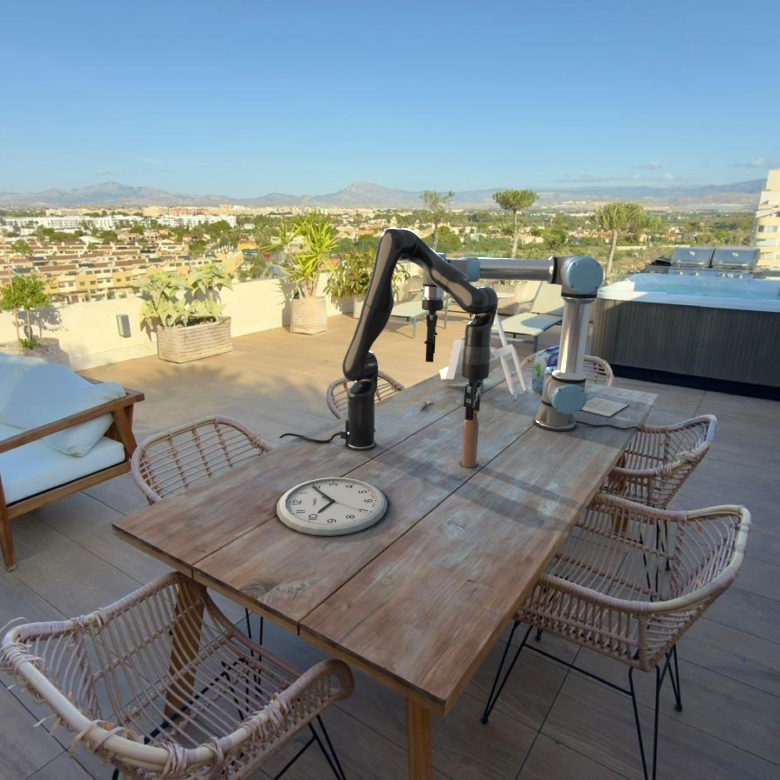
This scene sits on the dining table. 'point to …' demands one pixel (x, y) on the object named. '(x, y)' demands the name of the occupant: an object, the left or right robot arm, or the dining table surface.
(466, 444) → the bottle
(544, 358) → the lunch box
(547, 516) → the dining table surface
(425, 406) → the fork
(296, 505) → the wall clock
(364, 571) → the dining table surface
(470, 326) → the left robot arm
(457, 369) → the white plastic object
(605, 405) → the invitation card
